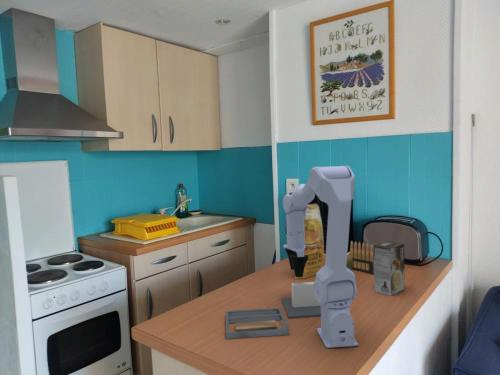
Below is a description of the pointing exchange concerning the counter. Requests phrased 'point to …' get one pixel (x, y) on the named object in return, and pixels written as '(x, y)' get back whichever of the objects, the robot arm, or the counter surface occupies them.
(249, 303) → the counter surface
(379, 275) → the coffee box
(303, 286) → the gray rectangular block
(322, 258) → the pancake mix bag
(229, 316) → the rack
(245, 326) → the offcut stack
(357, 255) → the ammunition clip
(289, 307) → the mat
